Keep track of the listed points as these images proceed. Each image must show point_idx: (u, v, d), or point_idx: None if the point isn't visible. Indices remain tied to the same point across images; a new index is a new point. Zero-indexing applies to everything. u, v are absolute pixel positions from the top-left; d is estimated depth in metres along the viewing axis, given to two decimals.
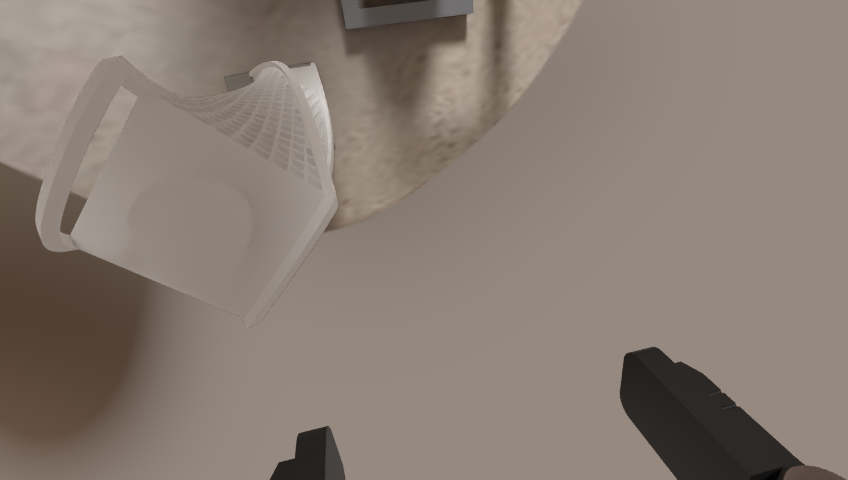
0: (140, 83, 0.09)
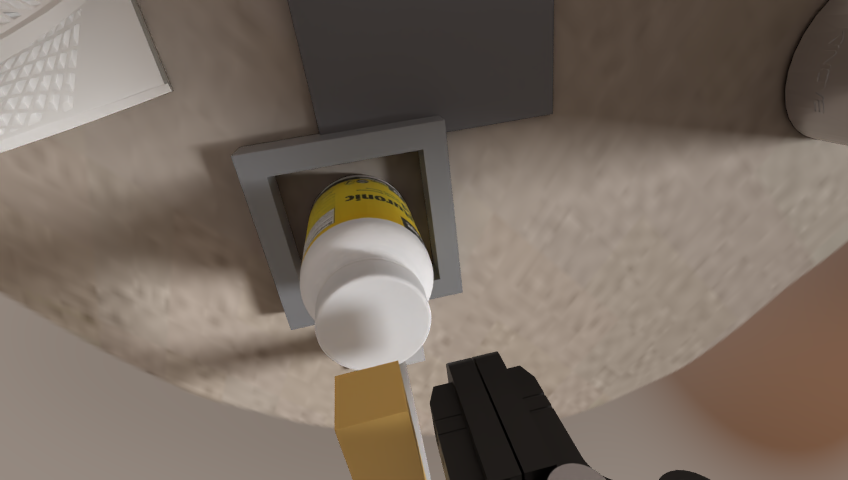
0: None
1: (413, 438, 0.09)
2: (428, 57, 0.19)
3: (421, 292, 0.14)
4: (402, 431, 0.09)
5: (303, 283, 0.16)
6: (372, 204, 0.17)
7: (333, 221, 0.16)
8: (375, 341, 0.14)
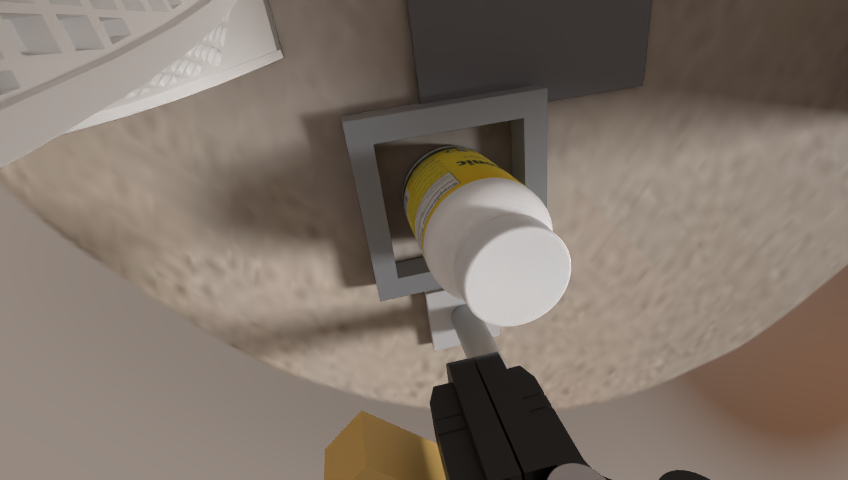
0: None
1: (396, 478, 0.10)
2: (530, 26, 0.20)
3: (565, 246, 0.14)
4: None
5: (433, 242, 0.16)
6: (489, 167, 0.17)
7: (458, 182, 0.16)
8: (516, 295, 0.14)
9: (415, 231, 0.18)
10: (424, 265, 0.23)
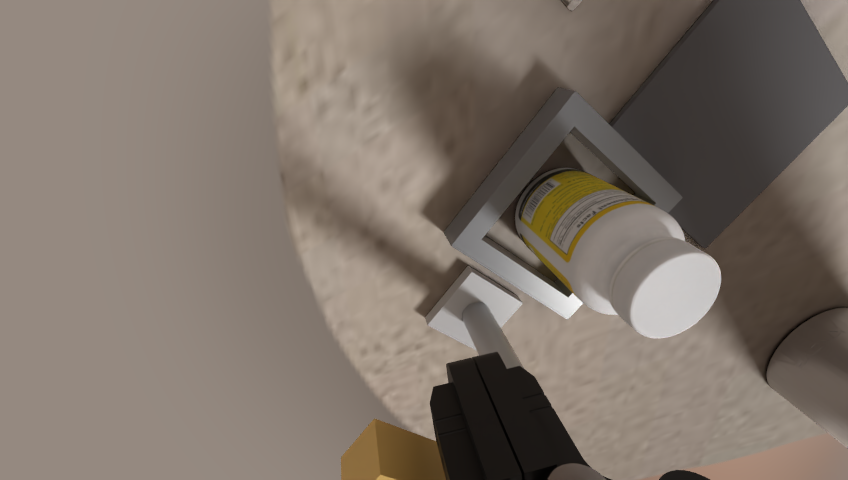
0: None
1: None
2: (697, 151, 0.24)
3: None
4: None
5: (615, 226, 0.17)
6: None
7: (644, 201, 0.19)
8: (663, 308, 0.16)
9: (567, 211, 0.19)
10: (497, 247, 0.24)
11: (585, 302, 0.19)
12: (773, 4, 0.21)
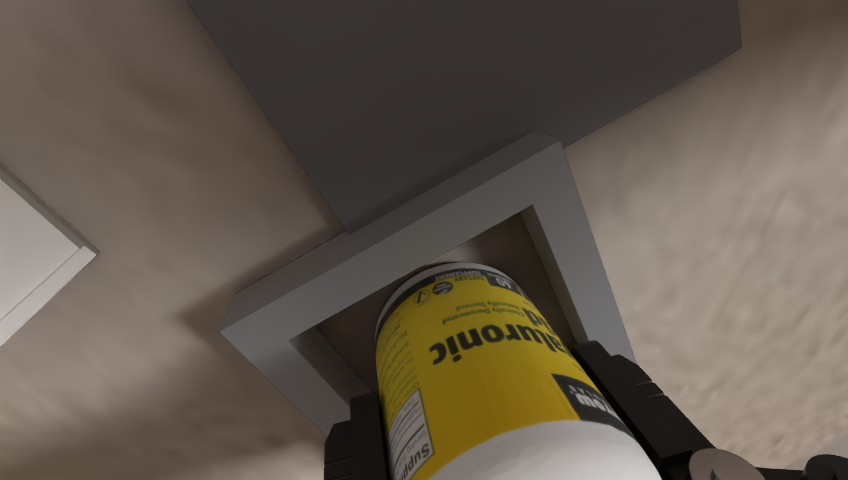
0: None
1: None
2: (492, 34, 0.10)
3: None
4: None
5: None
6: (489, 367, 0.09)
7: (430, 445, 0.08)
8: None
9: None
10: None
11: None
12: None
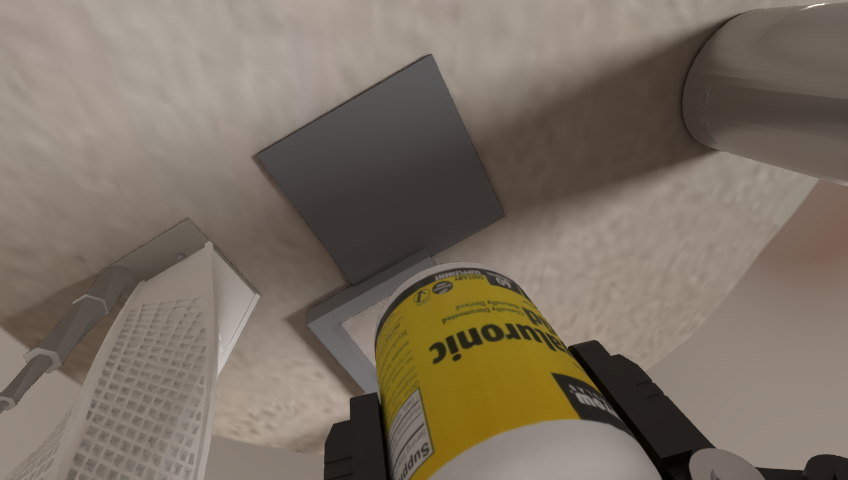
0: None
1: None
2: (405, 219, 0.28)
3: None
4: None
5: None
6: (489, 366, 0.09)
7: (430, 444, 0.08)
8: None
9: None
10: None
11: None
12: (306, 149, 0.25)
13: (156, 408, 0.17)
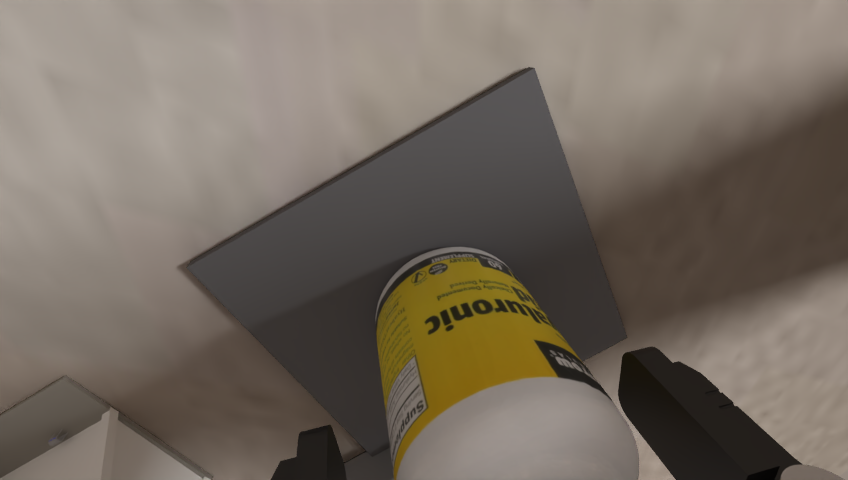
0: None
1: None
2: None
3: None
4: None
5: None
6: (479, 335, 0.10)
7: (424, 401, 0.09)
8: None
9: None
10: None
11: None
12: (284, 252, 0.13)
13: None
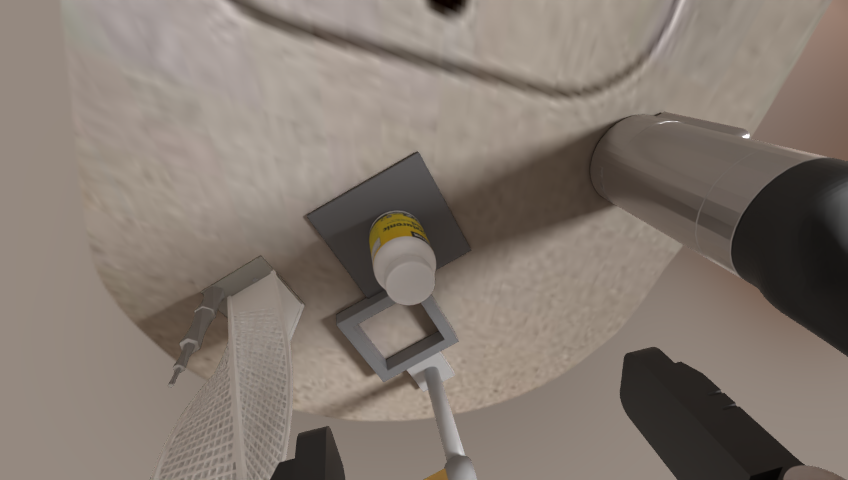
0: None
1: None
2: None
3: (425, 264, 0.32)
4: None
5: (376, 275, 0.34)
6: (395, 229, 0.36)
7: (380, 244, 0.35)
8: (413, 290, 0.33)
9: None
10: (399, 359, 0.47)
11: None
12: (338, 211, 0.39)
13: (264, 371, 0.31)
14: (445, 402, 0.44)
